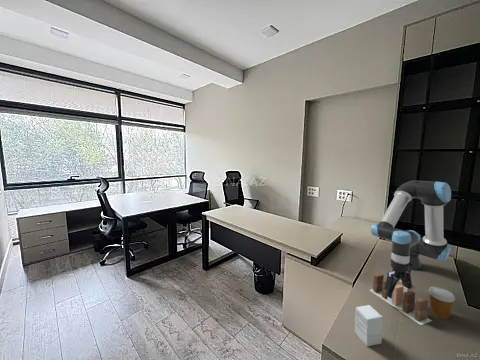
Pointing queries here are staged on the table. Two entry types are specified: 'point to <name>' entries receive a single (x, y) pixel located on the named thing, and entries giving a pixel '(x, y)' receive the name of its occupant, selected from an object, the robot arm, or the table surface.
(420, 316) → the domino
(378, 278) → the domino
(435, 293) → the disposable coffee cup
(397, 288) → the domino
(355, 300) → the table surface
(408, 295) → the domino
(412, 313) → the runner
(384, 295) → the domino
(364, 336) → the supplement box
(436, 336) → the table surface
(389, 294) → the robot arm
